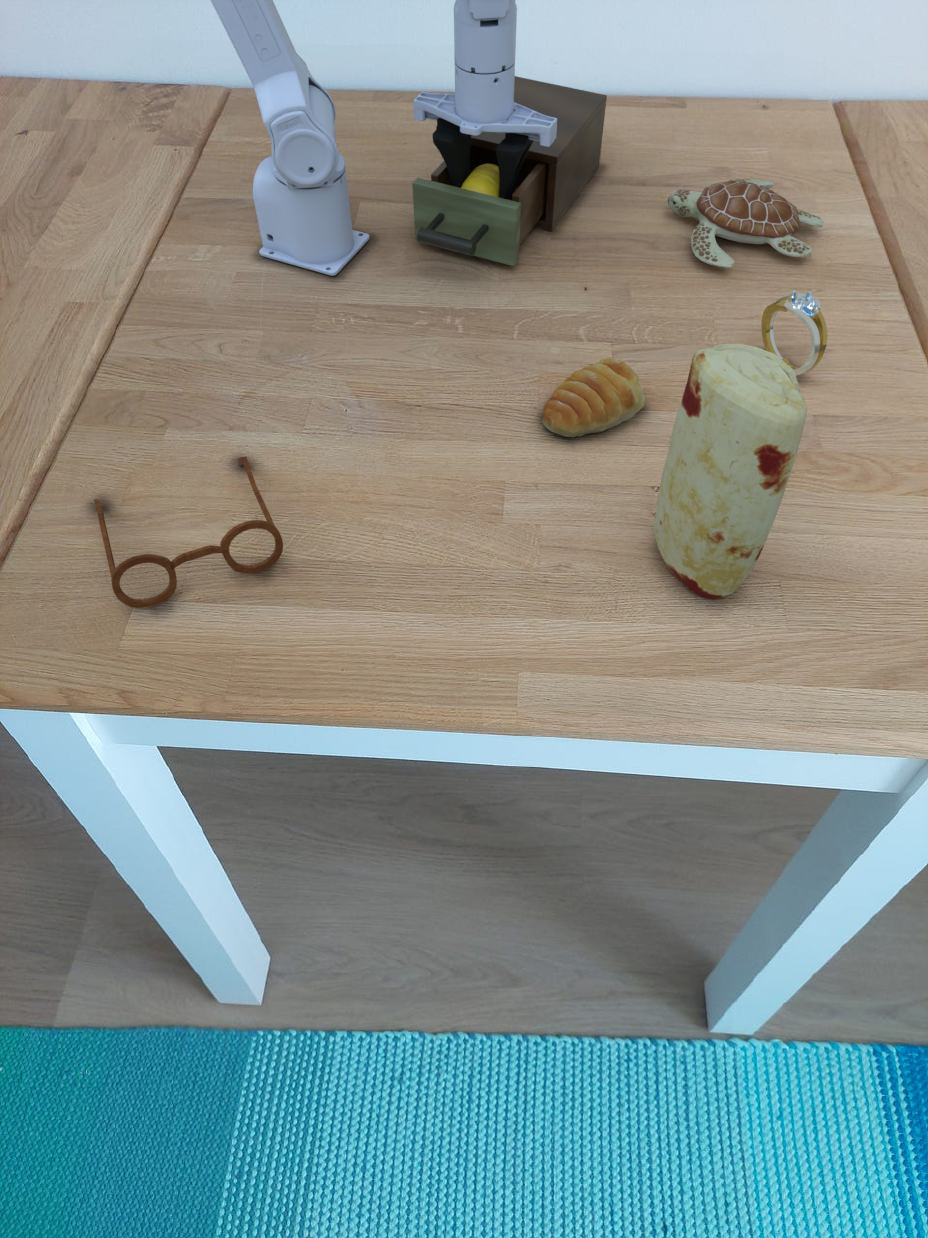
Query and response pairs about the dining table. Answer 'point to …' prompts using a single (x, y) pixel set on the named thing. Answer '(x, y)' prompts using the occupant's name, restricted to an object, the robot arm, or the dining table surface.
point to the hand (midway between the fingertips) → (483, 198)
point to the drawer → (479, 211)
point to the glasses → (191, 552)
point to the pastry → (594, 399)
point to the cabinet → (560, 141)
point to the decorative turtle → (741, 219)
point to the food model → (727, 465)
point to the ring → (808, 314)
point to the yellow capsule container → (483, 180)
